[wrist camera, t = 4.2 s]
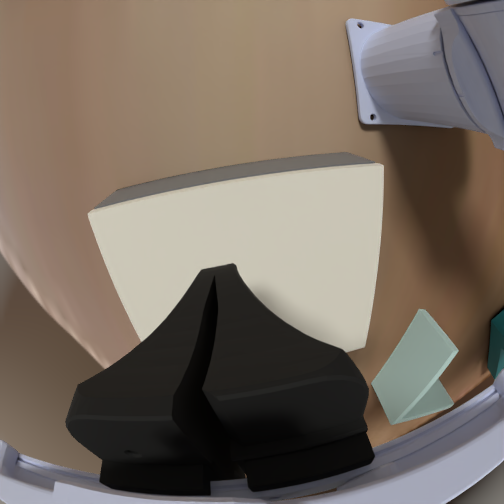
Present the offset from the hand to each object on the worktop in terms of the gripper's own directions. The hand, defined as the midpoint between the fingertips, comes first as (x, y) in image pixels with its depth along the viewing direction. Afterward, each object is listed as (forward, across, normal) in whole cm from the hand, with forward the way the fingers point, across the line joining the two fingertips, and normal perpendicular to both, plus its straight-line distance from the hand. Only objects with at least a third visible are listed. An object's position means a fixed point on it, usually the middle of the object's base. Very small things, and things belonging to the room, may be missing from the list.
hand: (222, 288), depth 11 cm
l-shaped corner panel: (+10, -21, +22) cm, 32 cm away
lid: (+5, -1, +4) cm, 7 cm away
